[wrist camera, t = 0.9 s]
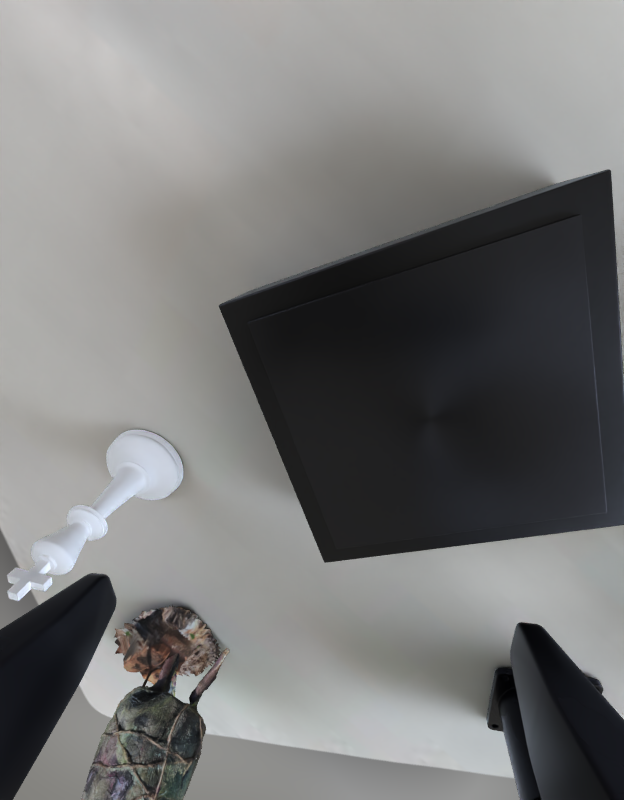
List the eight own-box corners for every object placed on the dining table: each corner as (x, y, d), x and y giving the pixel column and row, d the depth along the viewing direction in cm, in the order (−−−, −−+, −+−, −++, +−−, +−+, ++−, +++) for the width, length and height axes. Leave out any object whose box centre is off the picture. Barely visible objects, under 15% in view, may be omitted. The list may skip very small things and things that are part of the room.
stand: (588, 471, 20) (636, 527, 16) (333, 513, 24) (323, 566, 20) (558, 182, 16) (615, 167, 12) (248, 291, 19) (215, 306, 16)
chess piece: (108, 422, 24) (-57, 537, 15) (183, 437, 24) (59, 567, 15) (114, 485, 26) (-27, 621, 17) (184, 501, 26) (75, 649, 17)
